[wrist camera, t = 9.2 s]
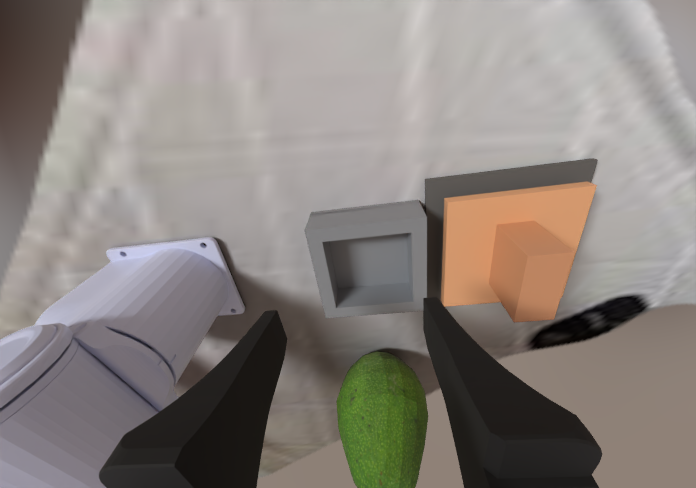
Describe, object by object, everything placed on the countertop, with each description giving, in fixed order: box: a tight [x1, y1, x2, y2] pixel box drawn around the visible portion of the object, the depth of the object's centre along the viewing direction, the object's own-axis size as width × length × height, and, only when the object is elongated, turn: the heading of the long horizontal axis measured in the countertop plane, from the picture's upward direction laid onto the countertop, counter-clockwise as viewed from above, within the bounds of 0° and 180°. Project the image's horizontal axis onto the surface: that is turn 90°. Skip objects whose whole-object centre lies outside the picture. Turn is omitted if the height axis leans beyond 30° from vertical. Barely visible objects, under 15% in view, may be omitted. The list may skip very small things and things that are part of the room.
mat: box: [425, 159, 598, 301], centre depth 22 cm, size 11×11×1 cm
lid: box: [441, 182, 597, 322], centre depth 19 cm, size 9×9×6 cm
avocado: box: [337, 352, 428, 488], centre depth 24 cm, size 8×8×12 cm
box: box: [305, 200, 427, 318], centre depth 22 cm, size 8×8×3 cm
